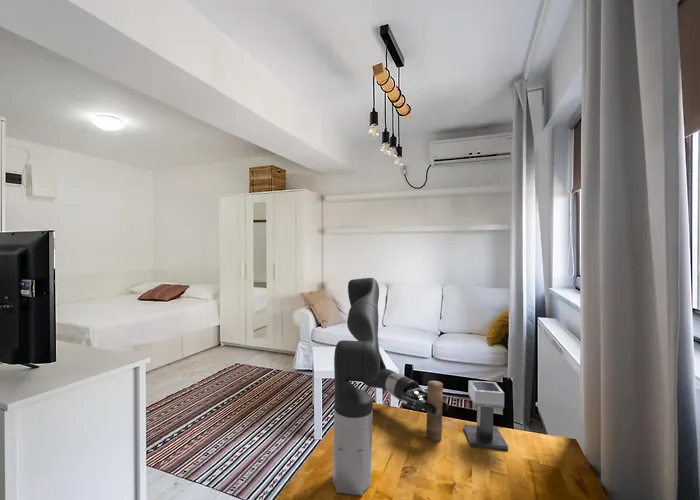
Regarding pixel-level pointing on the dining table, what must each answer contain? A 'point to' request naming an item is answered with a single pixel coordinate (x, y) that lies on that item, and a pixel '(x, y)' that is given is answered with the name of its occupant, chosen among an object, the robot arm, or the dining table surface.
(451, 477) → the dining table surface
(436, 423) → the walnut rail post
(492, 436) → the stand
